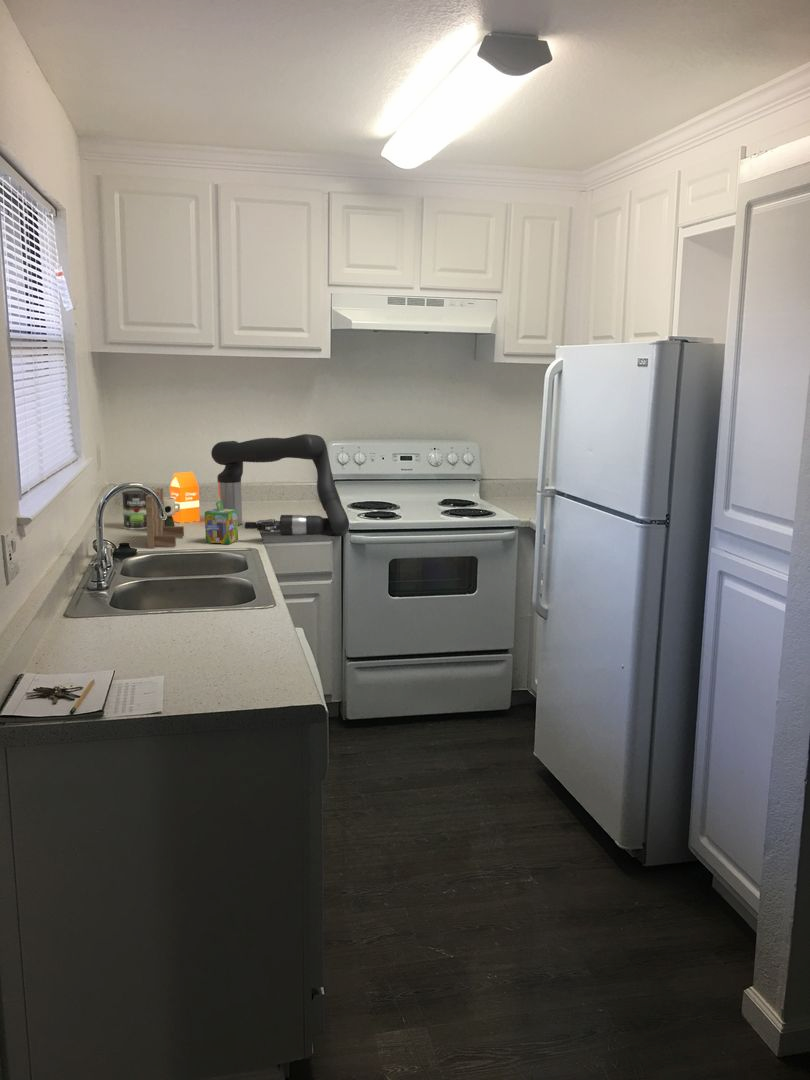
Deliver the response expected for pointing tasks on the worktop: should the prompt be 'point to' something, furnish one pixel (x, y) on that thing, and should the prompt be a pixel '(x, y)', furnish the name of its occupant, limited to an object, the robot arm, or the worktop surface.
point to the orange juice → (185, 497)
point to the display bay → (160, 525)
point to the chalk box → (221, 525)
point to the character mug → (170, 510)
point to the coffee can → (134, 510)
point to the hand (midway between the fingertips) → (245, 525)
